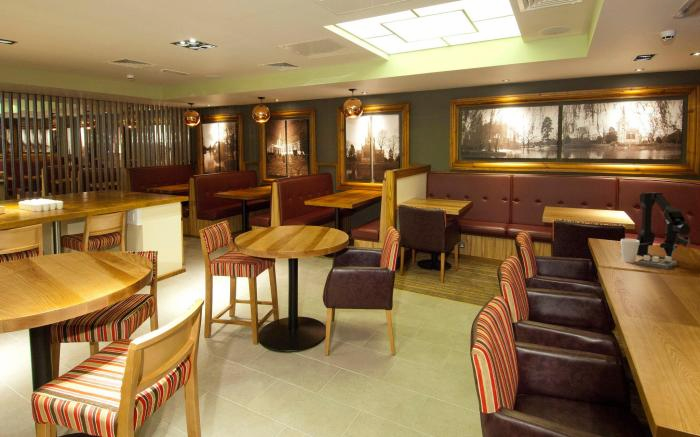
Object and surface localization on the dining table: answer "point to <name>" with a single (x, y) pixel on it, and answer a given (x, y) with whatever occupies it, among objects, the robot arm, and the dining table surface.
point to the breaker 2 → (668, 258)
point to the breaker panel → (657, 263)
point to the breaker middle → (655, 259)
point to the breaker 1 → (646, 257)
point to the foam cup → (629, 250)
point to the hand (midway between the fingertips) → (669, 258)
